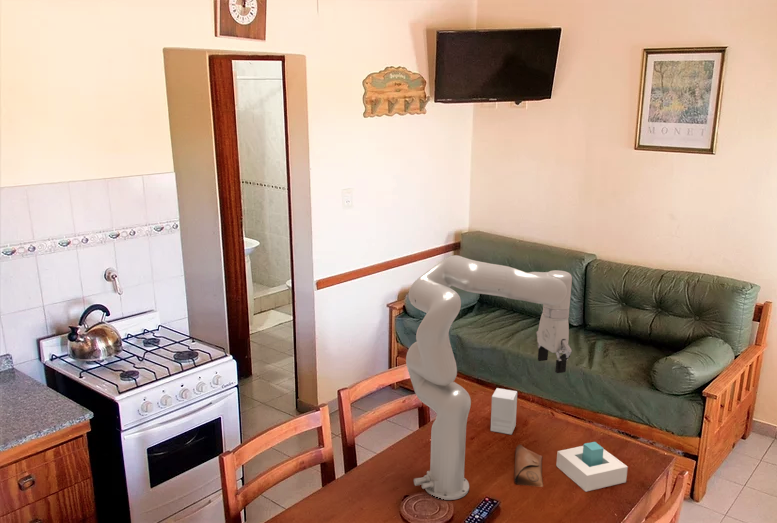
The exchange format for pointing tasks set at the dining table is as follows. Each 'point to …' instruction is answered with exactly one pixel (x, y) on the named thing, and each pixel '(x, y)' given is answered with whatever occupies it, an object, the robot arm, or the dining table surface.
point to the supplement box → (503, 411)
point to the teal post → (592, 454)
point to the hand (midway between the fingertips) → (551, 366)
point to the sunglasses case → (528, 467)
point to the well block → (591, 469)
